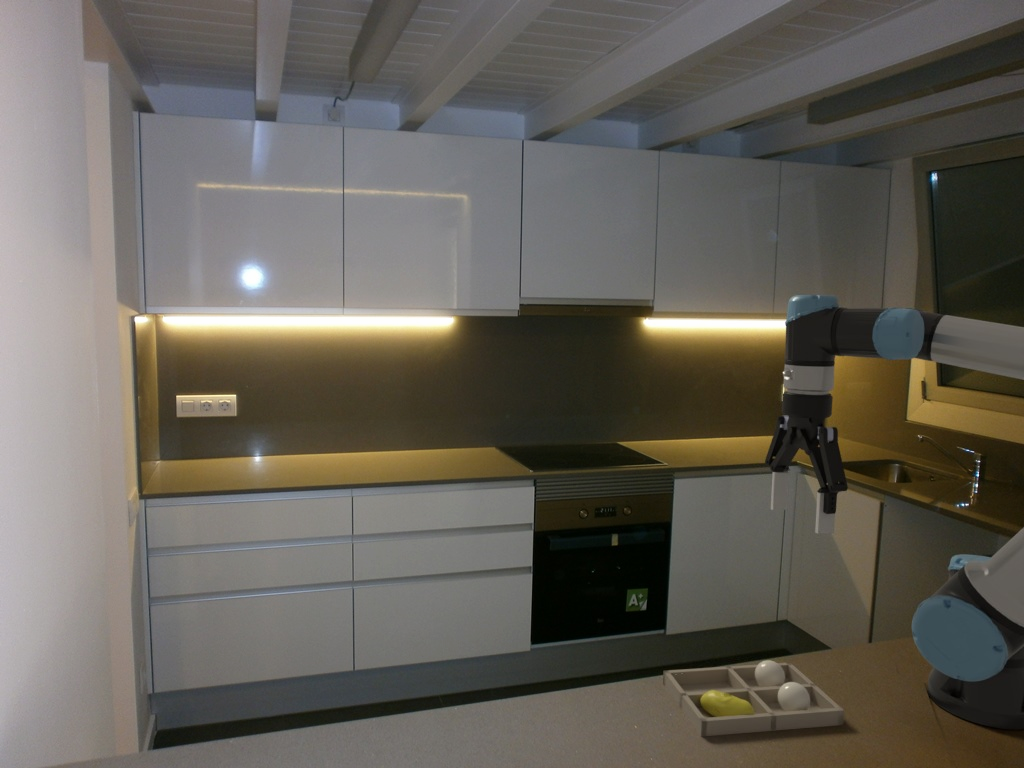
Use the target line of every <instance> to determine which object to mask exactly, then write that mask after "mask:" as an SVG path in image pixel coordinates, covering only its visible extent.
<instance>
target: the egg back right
mask: <svg viewBox="0 0 1024 768" xmlns="http://www.w3.org/2000/svg"><path fill="white" fill-rule="evenodd" d="M778 663H779V662H778ZM778 663H777V662H776V661H775V660H774V661H773V660H770V659H767V660H763V661H760V662H759V663H758V664H756V665H757V667H756V669H755V679H756V681H757V683H758V684H759V686H760V687H773V686H782V685H783V684H784V682H785V673H784V670H783V669H782V667H781V666H780V665H779V664H778Z"/></svg>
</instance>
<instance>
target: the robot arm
mask: <svg viewBox="0 0 1024 768" xmlns="http://www.w3.org/2000/svg"><path fill="white" fill-rule="evenodd" d="M784 324H785V346H784V348H785V350H784V361H783V362H784V363H783V364H784V368H783V371H782V376H783V386H782V387H783V388H784V389H786V391H784V392H783V393H782V397H781V398H782V399H781V400H782V401H781V413H782V414H783V415H777V418H776V425H775V430H774V432H773V436H772V438H771V442H770V444H769V448H768V451H767V454H766V456H765V459H764V463H765V466H769V469H770V471H771V473H772V474H771V497H770V510H771V511H788V508H789V507H788V506H789V489H790V488H789V487H790V485H789V484H790V472H789V471H791V469H790V464H791V462H792V461H793V460H794V458H795V456H796V454H797V453H798V451H799V450H802V451H804V453H805V455H807V456H808V457H809V459H810V460H809V461H810V462H811V466H812V468H813V470H814V473H815V476H816V479H817V482H818V485H819V487H820V488H819V489H818V490H817V493H816V494H817V495H816V511H815V527H814V533H815V534H817V535H820V534H821V535H823V534H825V535H826V534H827V535H829V534H835V522H836V521H835V520H836V519H835V518H836V513H837V502H838V501H837V500H838V494H839V493H842V492H847V491H848V488H849V487H848V483H847V478H846V473H845V468H844V463H843V459H842V455H841V451H840V446H839V438H838V437H839V436H838V435H839V429H838V428H837V427H836V426H825V420H826V419H827V418H830V417H831V416H832V414H833V399H834V398H833V397H834V396H833V395H832V394H831V393H830V392H832V391H834V387H835V386H834V385H835V384H834V383H835V363H836V362H835V360H836V356H838V357H853V358H864V359H865V358H867V359H881V360H888V361H893V360H895V361H898V360H912V359H917V360H923V361H927V362H934V363H940V364H943V365H944V364H945V365H950V366H955V367H959V368H965V369H969V370H974V371H979V372H984V373H989V374H994V375H999V376H1004V377H1008V378H1012V379H1013V378H1014V379H1019V380H1023V381H1024V326H1018V325H1012V324H1007V323H1006V324H1005V323H1001V322H1000V323H999V322H993V321H987V320H980V319H974V318H967V317H961V316H954V315H948V314H940V313H935V312H928V311H925V310H923V309H917V308H908V307H907V308H903V307H867V308H866V307H857V308H856V307H853V308H848V307H843V306H842V307H841V306H840V304H839V298H838V297H837V296H836V295H834V294H833V295H832V294H798V295H797V294H796V295H793V296H791V298H789V300H788V303H787V312H786V321H785V322H784ZM947 570H948V580H946V582H945V583H944V584H943V585H942V586H940V587H939V589H937V590H936V591H935V592H934V593H933V594H932V595H931V596H930V597H928V598H926V599H924V600H923V601H922V602H920V603H919V604H918V606H917V608H916V610H915V612H914V614H913V616H912V621H911V632H912V637H913V641H914V644H915V646H916V648H917V650H918V651H919V653H920V654H921V656H922V657H923V658H924V659H925V660H926V662H928V664H930V666H932V669H931V670H930V672H929V674H928V680H927V694H928V696H929V697H930V699H931V700H932V701H933V702H934V704H935V705H937V706H939V707H940V708H942V709H943V710H945V711H946V712H948V713H950V714H952V715H954V716H956V717H959V718H961V719H963V720H967V721H969V722H971V723H974V724H977V725H978V724H979V725H982V726H985V727H991V728H994V729H995V728H996V729H1003V730H1014V731H1015V730H1019V731H1020V730H1024V527H1022V528H1021V529H1020V530H1019V531H1018V532H1017V533H1016V534H1015V535H1014V536H1012V537H1011V538H1010V540H1008V541H1007V542H1006V543H1005V544H1004V545H1003V546H1002V547H1001V548H1000V549H999V550H998V551H996V552H995V553H994V554H993V555H992V556H991V557H990V556H984V555H977V554H976V555H975V554H965V553H964V554H961V553H960V554H955V555H953V556H952V557H951V558H950V562H949V566H948V567H947Z"/></svg>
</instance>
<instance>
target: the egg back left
mask: <svg viewBox="0 0 1024 768" xmlns="http://www.w3.org/2000/svg"><path fill="white" fill-rule="evenodd" d="M778 702H779V704H780V706H781V707H782V709H783V710H784V711H786V712H787V711H800V710H808V708H809V706H810V696H809V693H808V691H807V690H806V689H805V687H803V686H802V685H801V684H799V683H796V682H788V683H785V684H783V685H782V686H781V687H780V689H779V691H778Z"/></svg>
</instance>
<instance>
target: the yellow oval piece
mask: <svg viewBox="0 0 1024 768" xmlns="http://www.w3.org/2000/svg"><path fill="white" fill-rule="evenodd" d="M700 702H701V706H702V707H703V709H704V710H705V711H706V712H708V713H709V714H711V715H713V716H715V717H723V716H736V715H749V714H755V712H754V709H753V707H752V706H751V704H750V703H749V702H748V701H746V700H743V699H740V698H737V697H735V696H733V695H730V694H726V693H723V692H719V691H716V690H710V691H708V692H706V693H705V694H703V696H702V697H701V699H700Z"/></svg>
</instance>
